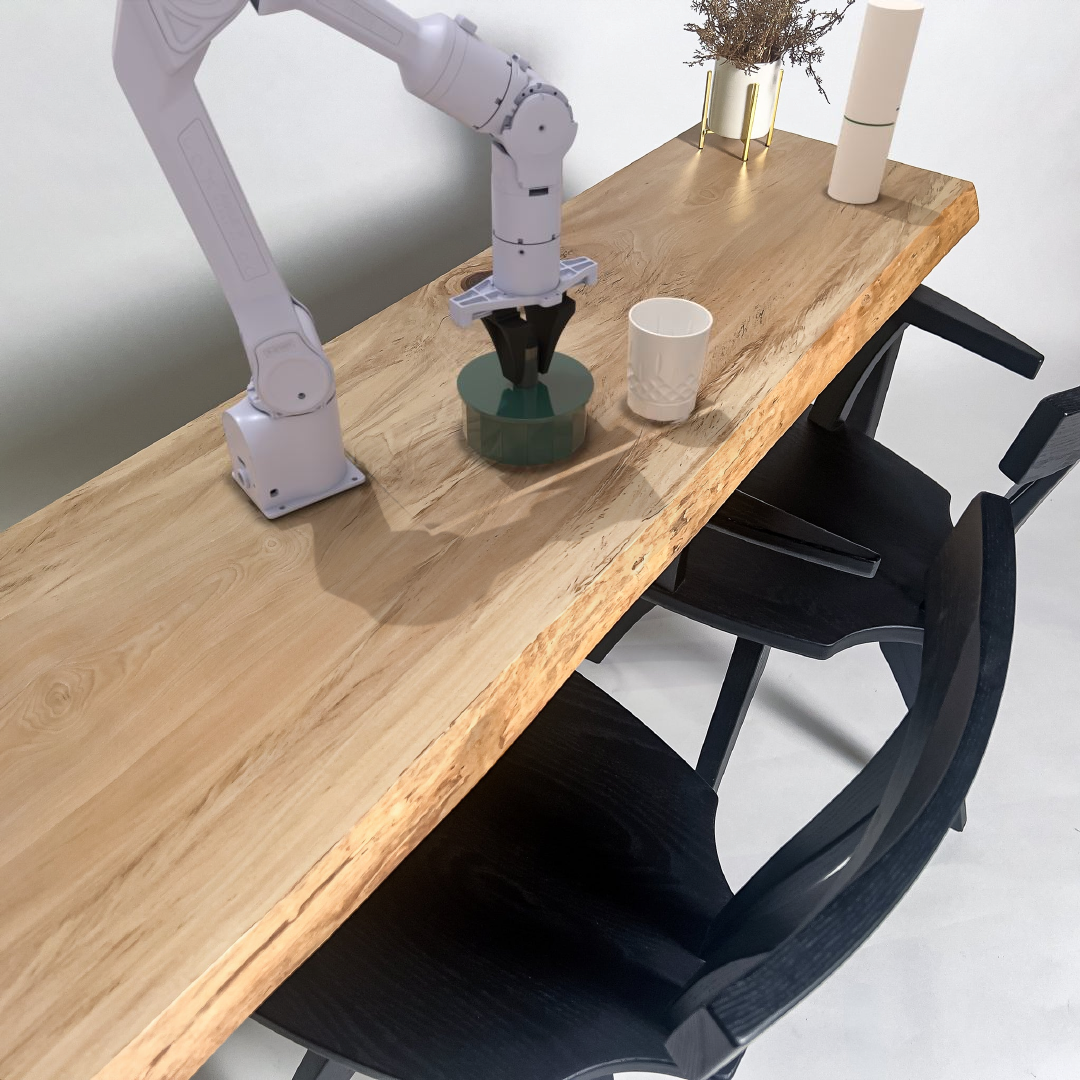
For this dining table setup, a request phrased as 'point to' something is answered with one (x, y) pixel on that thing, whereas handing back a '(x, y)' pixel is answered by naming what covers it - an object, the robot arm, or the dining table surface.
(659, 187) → the dining table surface
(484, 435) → the crock
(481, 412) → the lid
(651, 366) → the white cup
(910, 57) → the cylindrical container
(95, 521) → the dining table surface
